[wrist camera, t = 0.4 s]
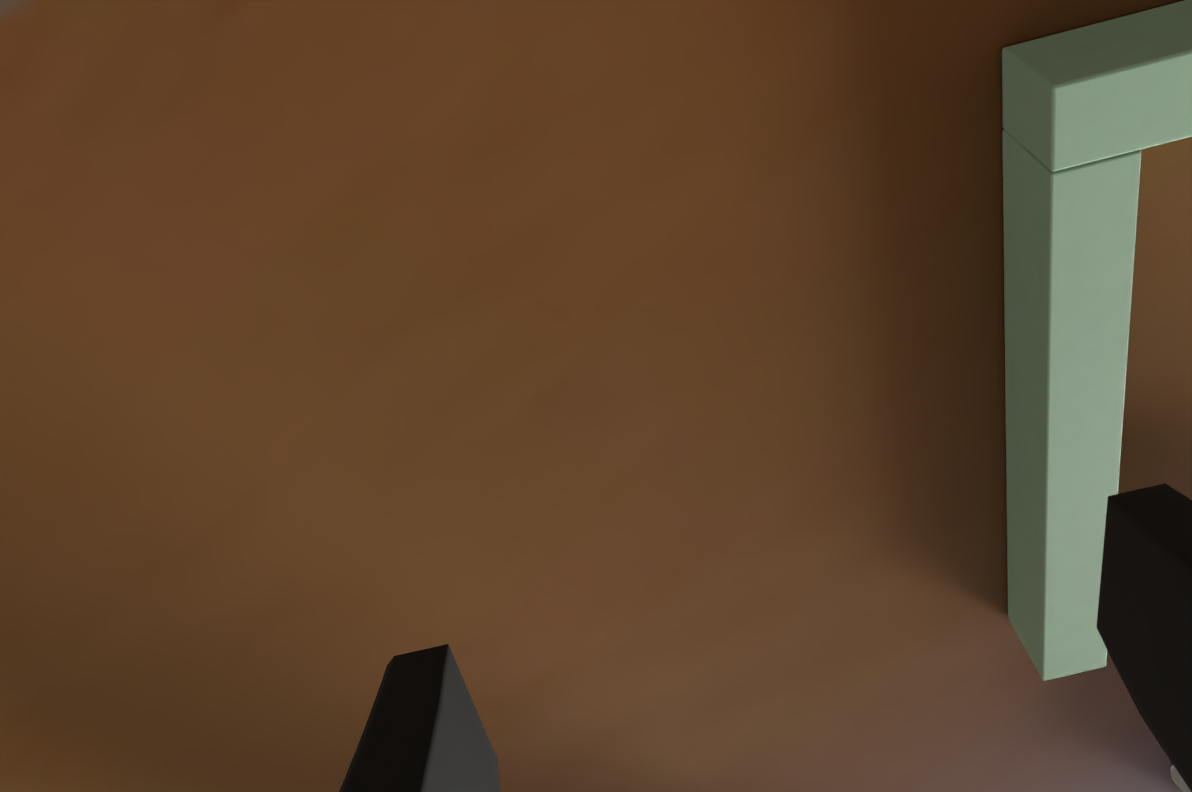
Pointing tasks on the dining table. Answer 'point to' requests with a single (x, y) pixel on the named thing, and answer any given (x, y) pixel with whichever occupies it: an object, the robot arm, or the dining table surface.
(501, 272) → the dining table surface
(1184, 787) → the egg carton
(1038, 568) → the frame
